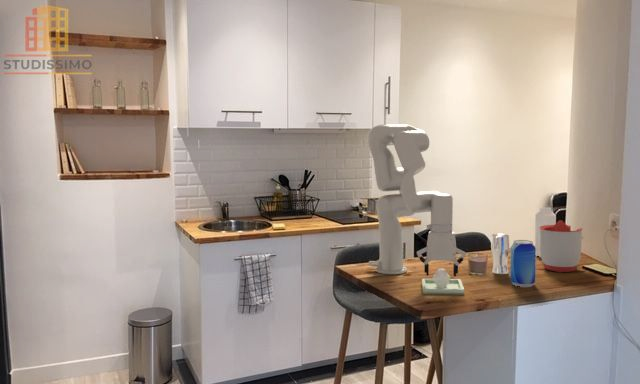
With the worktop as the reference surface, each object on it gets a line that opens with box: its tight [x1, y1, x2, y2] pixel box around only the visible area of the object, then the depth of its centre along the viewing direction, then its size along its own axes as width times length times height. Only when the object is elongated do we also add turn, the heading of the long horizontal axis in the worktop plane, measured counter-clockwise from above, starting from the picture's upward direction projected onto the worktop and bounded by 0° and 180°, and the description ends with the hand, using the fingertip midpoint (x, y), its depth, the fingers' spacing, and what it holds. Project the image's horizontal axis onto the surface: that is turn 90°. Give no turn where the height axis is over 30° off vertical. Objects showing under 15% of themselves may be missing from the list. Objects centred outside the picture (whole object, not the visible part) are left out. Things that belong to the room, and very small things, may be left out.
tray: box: [421, 278, 465, 296], centre depth 193 cm, size 14×14×2 cm
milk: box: [534, 206, 557, 258], centre depth 238 cm, size 6×6×22 cm
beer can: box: [510, 239, 536, 288], centre depth 194 cm, size 8×8×16 cm
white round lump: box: [432, 267, 451, 288], centre depth 193 cm, size 6×6×7 cm
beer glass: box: [490, 233, 511, 275], centre depth 213 cm, size 7×7×15 cm
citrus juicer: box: [540, 219, 584, 273], centre depth 215 cm, size 16×17×20 cm
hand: (441, 275), depth 193 cm, fingers open, 9 cm apart
